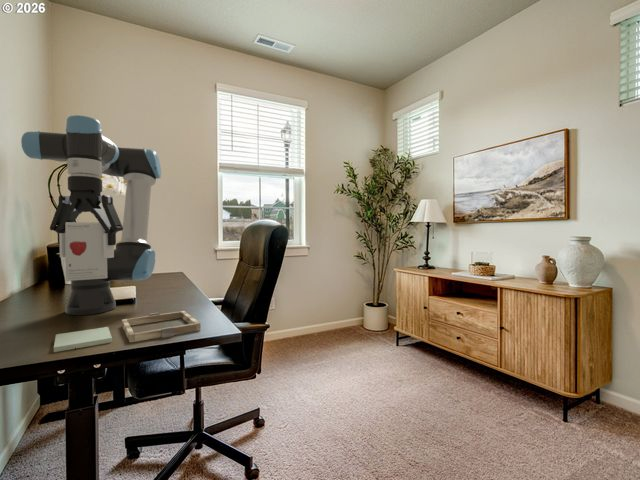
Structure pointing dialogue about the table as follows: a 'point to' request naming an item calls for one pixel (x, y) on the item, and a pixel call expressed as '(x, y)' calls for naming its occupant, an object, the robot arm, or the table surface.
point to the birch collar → (163, 332)
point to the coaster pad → (82, 339)
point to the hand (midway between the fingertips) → (87, 257)
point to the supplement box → (84, 251)
